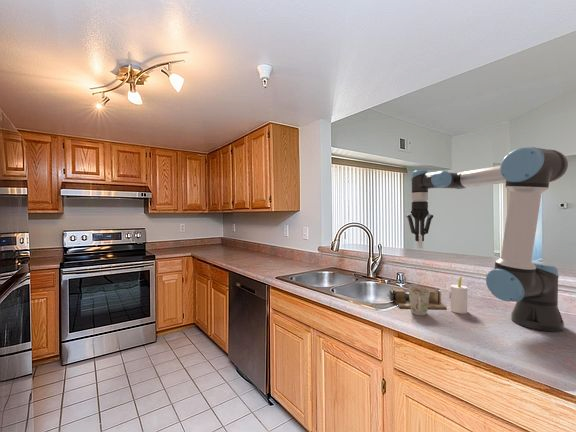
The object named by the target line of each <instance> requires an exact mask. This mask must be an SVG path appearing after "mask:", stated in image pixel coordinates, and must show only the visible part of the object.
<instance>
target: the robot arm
mask: <svg viewBox="0 0 576 432" xmlns="http://www.w3.org/2000/svg"><path fill="white" fill-rule="evenodd" d="M568 168H569V161H568V159H567V157H566V156H565V154H563V153H562V152H561V151H558V150H555V149H551V148H550V149H547V148H546V149H545V148H542V147H541V148H540V147H534V146H533V147H531V146H527V147H518V148H516V149H513V150H512V151H510V152H509V153H508V154H507V155H505V156H504V158H503V159H502V161H501V163H500V165H495V166H489V167H482V168H478V169H471V170H466V171H460V172H448V171H447V170H438V171H434V172H429V171H428V170H426V169H419V170H414V171H412V173H411V201H412V202H411V211H410V213H409V214H406V215H405V217H406V219H407V220H408V224H409V225H408V226H409V230H410V232H411V234H413V235H414V236H415V237H414V238H415V239H414V240H415V242H416V248H418V249H422V248H423V242H424V241H425V235H426V234H429V231H430V227H431V222H432V220H433V218H434V214H431V213H430V212H429V202H428V201H429V189H456V190H463V189H466V188H472V187H473V188H474V187H479V186H489V185H490V186H491V185H499V184H505V185H504V186H505V187H504V188H506V190H508V191H509V196H508V202H507V210H506V219H505V225H504V234H503V241H502V247H501V249H502V250H501V255H500V257H498V258H497V259H495V260H494V261H495V262H494V268H492V269H491V270H490V271H489V272H487V274H486V276H485V283H486V284H485V285H486V287H487V289H488V290H489V291H490V293H491V295H493V296H494V297H495V298H496V299H498V300H500V301H503V302H506V303H507V302H509V303H510V302H512V303H513V302H514V303H515V305H514V307H513V309H512V312H511V316H510V318H511V321H512V322H513V323H515V324H517V325H519V326H522V327H524V328H525V327H526V328H528V329H532V330H537V331H543V332H551V333H554V332H556V333H557V332H562V331H563V332H564V330H565V322H564V320H563V317H562V315H561V312H560V309H559V306H558V305H559V303H558V302H559V278H560V276H559V275H560V274H559V271H558V267H556V266H554V265H550V264H544V263H543V264H542V263H536V262H533V253H534V248H535V247H534V246H535V240H536V239H535V238H536V233H537V228H538V226H537V225H538V221H539V220H538V219H539V214H540V213H539V212H540V206H541V199H542V194H543V193H544V192H545V191H547V190H549V187H550V183H553V182H556V181H557V180H559V179H561V177H563V176H564V175H566V172H567V170H568ZM413 220H414V221H413ZM425 220H426V222H425Z"/></svg>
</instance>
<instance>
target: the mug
mask: <svg viewBox="0 0 576 432" xmlns="http://www.w3.org/2000/svg"><path fill="white" fill-rule="evenodd" d="M429 289H430V288H427V287H421V286H410V287H408V289H407V292H408V291H409V299H410V306H411V308H410V312H411V314H413V315H416V316H426V315H427V313H428V310H429V309H428V303H429V296H430V290H429Z"/></svg>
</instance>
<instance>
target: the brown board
mask: <svg viewBox="0 0 576 432" xmlns="http://www.w3.org/2000/svg"><path fill="white" fill-rule="evenodd" d="M391 289H392V290H391V291H394V292H395V299H394V301H393V302H394V304H395V303H396V304H397V305H398V306H399V307H400V308H399V307H398V306H397V305H396V304H395V305H396V306H397V307H398V308H399V309H411V306H410V299H408V300H405V293H406V291H405V289H403V288H391ZM428 289H429V290H430V296H429V303H428V310H447V305H445V304H443V303H442V291H440V290H438V288H428ZM407 293H409V291H408V290H407ZM386 295H387V296H388V297H389V292H387V293H386Z"/></svg>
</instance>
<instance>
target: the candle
mask: <svg viewBox="0 0 576 432" xmlns="http://www.w3.org/2000/svg"><path fill="white" fill-rule="evenodd" d="M462 279H463V276H460V277H459V278H458V282H457V284H450V292H449V299H450V300H449V302H450V305H449V306H450V309H449V310H450V312H453V313H456V314H461V315H462V314H463V315H464V314H467V313H468V287H467V286H466V285H462Z"/></svg>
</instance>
